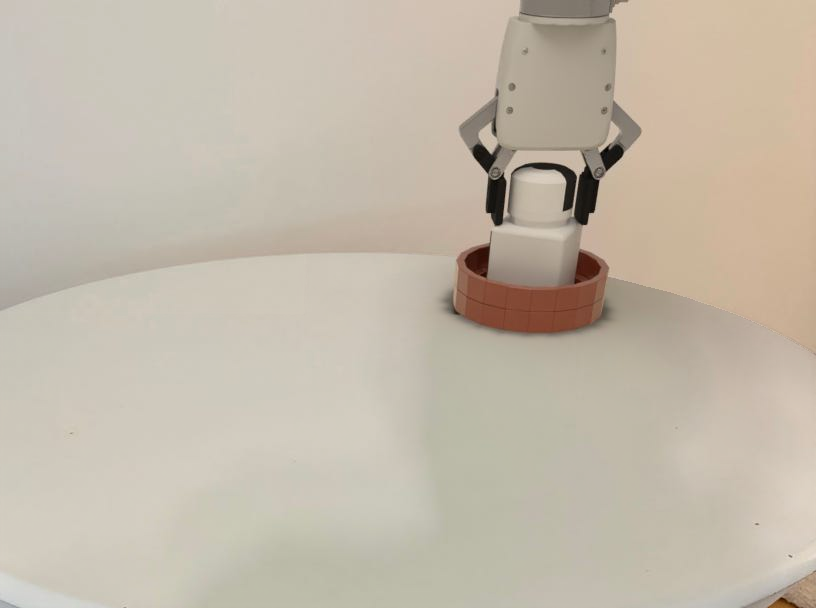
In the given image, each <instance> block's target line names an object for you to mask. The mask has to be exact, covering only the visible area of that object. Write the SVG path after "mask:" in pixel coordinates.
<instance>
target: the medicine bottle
mask: <svg viewBox="0 0 816 608" xmlns="http://www.w3.org/2000/svg"><path fill="white" fill-rule="evenodd" d="M577 182H578V176H577V173H576V172H575V171H574V170H573V169H572V168H570V167H568V166H566V165H564V164H561V163H554V162H545V161H544V162H543V161H539V162H529V163H524V164H522V165H520V166H518V167H516V168H514V169H513V170H512V171H511V173H510V180H509V189H508V200H507V201H508V202H507V209H506V212H507V213H508V214H506V216H505V217H503V223H502V224H500V225H493V226H492V227H491V229H490V237H489V243H490V245H489V256H488V266H487V276H486V278H487V279H489V280H493V281H498V282H502V283H507V284H512V285H522V286H531V287H556V286H564V285H573V284H574V280H575V274H576V267H577V260H578V254H579V248H580V246H581V240H582V235H583V233H582V232H583V226H584V225H581V224H579V223H578V221H577V220H576V218H575V217H574V215H573V210H574V209H573V208H574V203H575V202H574V201H575V196H576V187H577Z"/></svg>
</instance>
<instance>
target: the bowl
mask: <svg viewBox="0 0 816 608" xmlns="http://www.w3.org/2000/svg"><path fill="white" fill-rule="evenodd" d="M489 245H490V242H486V243H483V244H479V245H474V246H471V247H469V248H467V249H465V250H464V251H461V252H460V253H459V255H458V257H457V258H456V260H455V270H454V283H453V295H452V296H453V297H452V303H453V304H452V305H453V306H454V309H455V312H457V313H458V314H459V315H460V316H462V317H464V318H465V319H467V320H470V321H472V322H475V323H476V324H478V325H481V326H485V327H488V328H492V329H497V330H501V331H509V332H515V333H523V334H524V333H525V334H526V333H527V334H555V333H561V332H568V331H575V330H577V329H580V328H584V327H588V326H590V325H592V324H593V323H594V322H596V321H597V320H598V319H600V318H601V315H602V312H603V308H604V307H603V306H604V302H605V297H606V291H607V285H608V284H607V283H608V278H609V274H610V273H609V272H610V266H609V265H608V263H607V262H606V261H605V259H603V258H602V257H600V256H599V255H597V254H595V253H594V252H591V251H588V250H585V249H583V248H580V247H579V254H578V260H577V267H576V274H575V280H574V284H573V285H564V286H556V287H531V286H522V285H512V284H507V283H502V282H498V281H493V280H489V279H487V278H486V276H487V266H488V256H489Z"/></svg>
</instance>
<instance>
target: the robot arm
mask: <svg viewBox="0 0 816 608" xmlns="http://www.w3.org/2000/svg"><path fill="white" fill-rule="evenodd" d="M628 2H629V0H520V2H519V3H520V4H519V12H518V15H514V16H509V17H508V21H507V23H506V28H505V32H504V36H503V40H502V45H501V50H500V55H499V60H498V65H497V73H496V79H495V85H494V94H493V98H492V99H490V100H489V101H488V102H487V103H486V104H484V105H483V106H482V107H480V108H479V109H478V110H476V112H475V113H473V114H472V115H470V116H469V117H468V118H467V119H465V120H464V122H462V123H461V124H460V125H459V126H458V130H457V131H458V134H459V136H460V137H461V139H462V141H463V142H464V144H465V146H466V147H467V148H468V150H469V151H470V154H471V155H472V157H473V158H474V160H475V161H476V162H477V163H478V164H479V166H480V167H481V168H482V169H483V171H485V173H486V174H487V185H486V196H485V214H490V219H491V221H492V223H493V226H495V225H500V224H502V223H503V218H504V214H505V205H506V194H507V186H508V182H507V179H506V178H505V170H506V169H507V168H508V166H509V164H510V163H511V161H512V159H513V158H514V156H515V155H516V153H517V152H518V151H522V152H523V151H524V152H525V151H526V152H527V151H529V152H530V151H532V152H533V151H535V152H536V151H538V152H540V151H541V152H542V151H545V152H547V151H552V152H554V151H556V152H557V151H561V152H563V151H579V152H580V156H581V158H582V160H583V163H584V165H585V166H584V168H583V171H581V173H579V176H578V180H577V189H576V194H575V202H574V203H575V204H574V209H573V217H575V218H576V220H577V221H578V223H579V224H581V225H583V226H588V223H589V218H590V214H595V212H596V208H597V207H596V206H597V201H598V195H599V194H598V193H599V187H600V181H601V180H602V179H603V178H604V177H605V176H606V173H607V172H608V171H609V170H610V169H611V168H613V166H615V165H616V164H617V163H618V162H619V161H621V160H622V158H623V156H624V154H625V152H626V151H628V150H629V149H630V148H631V147H632V145H634V143H635V142H636V141H637V140H638V139H639V137H641V135H642V131H643V130H642V128H641V126H640V125H639V124H637V122H636V121H635V120H634V119H633V118H632V117H631V116H630V115H629V114H628V113H627V112H626V111H625V110H624V109H623V107H621V106H620V105H619V104H618V103H617V102H616V101H615V100H614V96H615V85H616V69H617V67H616V66H617V20H616V19H615V18H613V17H610V14H613V10H614V8H615V6H616V5H619V4H620V3H628ZM611 122H612V123H613V124H614V126H616V127H617V128H618V134H617V136H616V137H615V138H614V140H612V142H610V143H609V144H607V145H606V146H605V147H604V149H602V150H601V151H599V148H600V147H602V146H603V145H604V144H605V143H606V142H607V140H608V137H609V134H610V128H611ZM489 124H490V132H491V135H492V136H494V137H495V138H496V141H497V144H496V145H495V146H494V148H493V150H492V152H490V151H489V150H488V149H487V147H486V146H485V145H484V144H483V142H482V141H481V139H480V137H479V133H480V132H481V131H482V130H483V129H484V128H486V127H487V126H488V125H489Z"/></svg>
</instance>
